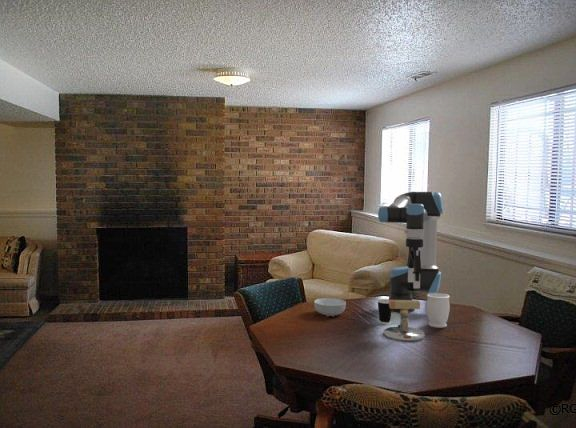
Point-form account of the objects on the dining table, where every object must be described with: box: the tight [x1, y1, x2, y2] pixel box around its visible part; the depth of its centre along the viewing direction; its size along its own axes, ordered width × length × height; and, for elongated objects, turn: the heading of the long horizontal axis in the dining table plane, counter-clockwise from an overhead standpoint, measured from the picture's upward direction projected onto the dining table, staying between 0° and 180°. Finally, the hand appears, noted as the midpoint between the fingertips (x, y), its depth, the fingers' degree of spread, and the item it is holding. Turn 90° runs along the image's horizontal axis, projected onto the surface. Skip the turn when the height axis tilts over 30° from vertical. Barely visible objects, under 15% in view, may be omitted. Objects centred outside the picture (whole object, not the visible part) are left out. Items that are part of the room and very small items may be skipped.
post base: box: [383, 316, 425, 343], centre depth 220 cm, size 18×18×8 cm
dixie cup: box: [376, 298, 393, 325], centre depth 240 cm, size 8×8×11 cm
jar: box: [426, 292, 451, 329], centre depth 235 cm, size 11×10×15 cm
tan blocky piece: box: [389, 299, 421, 331], centre depth 219 cm, size 7×13×13 cm, turn 86°
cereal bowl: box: [313, 297, 347, 317], centre depth 255 cm, size 17×17×7 cm
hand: (413, 285), depth 218 cm, fingers open, 13 cm apart
